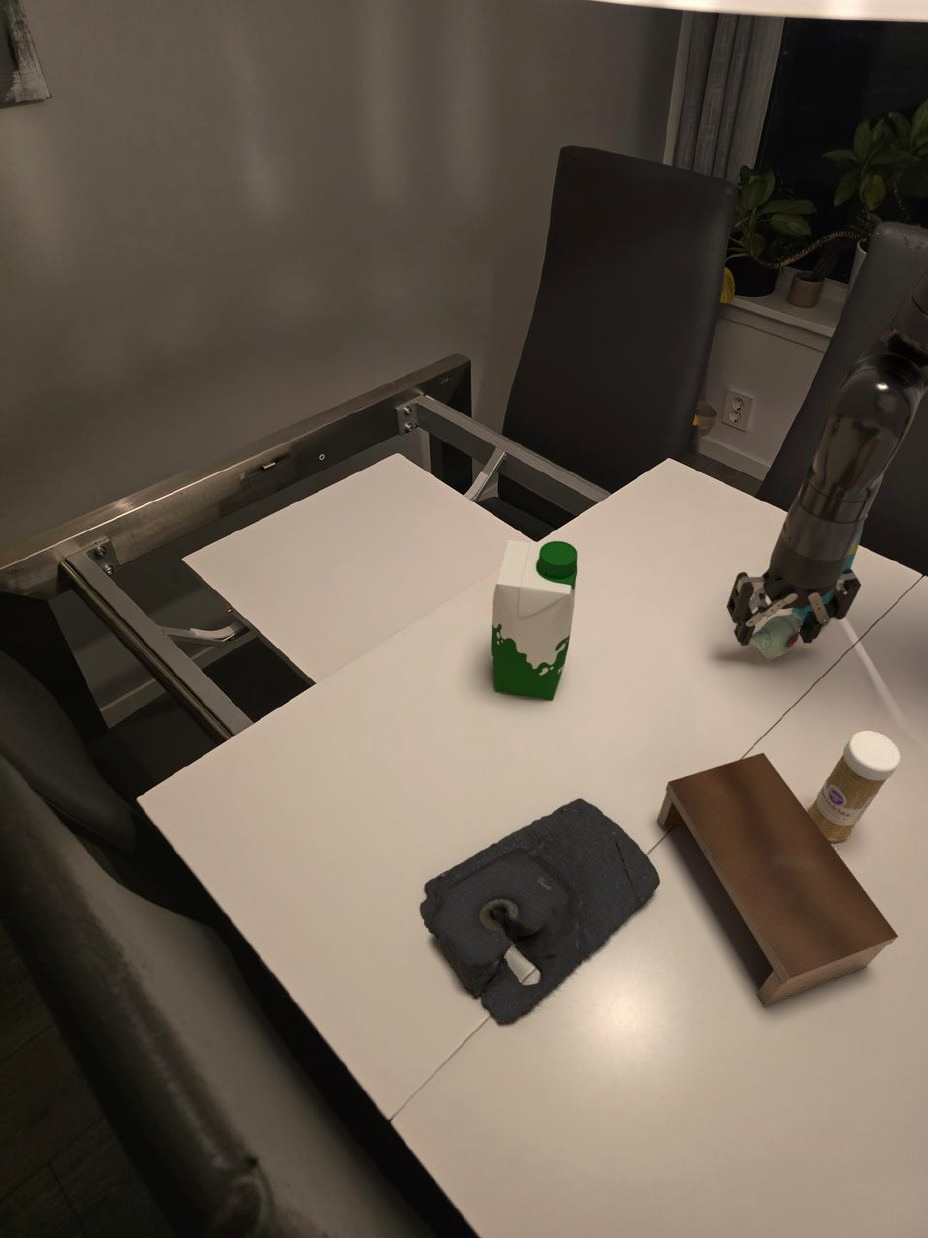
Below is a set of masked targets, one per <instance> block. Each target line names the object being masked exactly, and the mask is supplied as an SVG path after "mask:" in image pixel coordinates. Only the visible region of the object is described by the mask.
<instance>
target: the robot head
mask: <svg viewBox="0 0 928 1238" xmlns="http://www.w3.org/2000/svg"><path fill="white" fill-rule="evenodd" d="M801 626H802V618H801V617H799V616H798V615H797V614H796V613H793V614H792V613H790V614H785V615H783V614H782V615H776V616H773V617H770V619H768V620H767V621H765V622H764V624H763V625H762V626H761V627H760V628H759V629H758V630H757V631H755V632H753V635H752V637H751V640H750V641H751V642H753V643H754V645H755V647H757V648H758V650H759V652H760V655H761V656H763V657H764V658H765V659H775V658H778V657H781V656H782V655H784V654H787V652H789V651H790V650H791V649H793V647H795V644H796V643H797V642H798V641H799V637H800V634H799V630H800V628H801Z"/></svg>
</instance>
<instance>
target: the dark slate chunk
mask: <svg viewBox="0 0 928 1238" xmlns="http://www.w3.org/2000/svg"><path fill="white" fill-rule="evenodd" d="M660 884H661V880H660V875H659V873H658V871H657V869H656V866H654V864H653V863H652V862H651V860H650V857H649V856H648V855H647V854H646V853H645V852H644V851H643V850H642V849H641V847H640V846H639V844H638V843H637V842H636V841H635V840H634V839H633V838H631V836H630V835H629V834H628V833H627V832H626V831H625V830H624V829H623V828H622V827H621V826H620V825H619V824H618V823H617V822H616V821H614V820H613V819H611V818H610V817H609V816H607V815H605V814H604V812H603V811H602V810H601V809H599V808H598V806H596V805H594V804H592V803H590V802H588V801H586V799H584V798H580V797H579V798H577V799H574V800H572V801H570V802H569V803H566V804H563V805H561V806H559V807H558V808H556V809H555V810H553V812H552V813H550V814H548V815H544V816H541V817H540V818H539V819H535V820H533V821H532V822H531V823H530V824H527V825H525V826H523V827H521V828H519V829H518V830H515V831H513V832H511V833H510V834H508V835H506V836H504V837H502V838H501V839H500V840H498V841H497V842H494V843H493V842H492V843H491V844H490V845H489V846H488V847H486V848H484V849H482V850H479V851H478V852H477V853H475V854H473V855H472V856H470V857H468V858H466V859H465V860H464V861H462V862H460V863H458V864H455V865H454V866H452V867H451V868H450V869H447V870H445V871H443V872H442V873H440V874H438V875H437V876H436V877H434V878H430V879H429V880H428V881H427V882H426V883H424V890H425V891H426V898H425V899H424V900H423V901H422V902H420V903H419V905H420V907H419V909H420V913H421V916H422V917H423V922H424V925H425V926H426V927H427V928H428V932H429V933H431V934H433V935H434V936H435V938H436V939H438V940H439V944H440V947H441V949H442V951H443V954H444V956H445V958H446V960H447V961H448V963H449V964H450V965H451V967H452V969H453V970H454V971H455V973H457V976H459V978H460V980H461V981H462V983H463V984H464V986H465V987H466V989H469V990H472V991H473V995H474V996H475V997H478V996H480V995H481V996H480V997H481V1000H482V1003H483V1006H485V1007H489V1009H490V1012H491V1014H493V1015H494V1016H496V1019H497V1021H498V1022H500V1023H505V1022H513V1021H515V1020H517V1019H518V1018H519V1017H520V1016H521V1014H523V1013H525V1012H527V1011H528V1010H530V1009H531V1008H533V1007H534V1006H535V1005H536V1003H538V1001H539V1000H540V999H542V998H543V997H544V996H545V995H546V994H547V993H548V992H550V991H552V990H553V989H554V988H555V986H557V985H558V984H559V983H561V982H562V981H563V980H564V979H565V978H566V977H568V974H569V973H571V972H573V971H574V970H575V968H577V967H578V966H579V964H580V963H581V962H583V961H584V960H585V958H586V956H588V955H590V954H593V953H594V951H595V950H596V948H598V947H599V946H600V945H601V944H603V943H604V942H606V941H607V940H608V939H609V938H610V937H611V935H612V933H614V932H615V928H617V927H619V926H621V924H623V922H624V921H625V920H626V918H627V917H629V916H630V915H631V914H632V913H633V912H634V911H635V909H636V908H637V907H638V906H640V904H642V903H644V902H645V903H646V902H647V901H648V900H649V899H650V898H652V896H653V895H654V892H655V891H656V890H657V889H658V887H659V886H660ZM507 936H510V937H512V938H514V941H515V946H516V947H517V948H518V950H519V951H520V952H521V953H522V954H524V956H526V957H527V958H528V959H529V961H531V962H532V963H533V964H534V965H535V966H536V967H537V968H538V969H539V970H540V972H541V974H540V978H539V980H538V982H536V983H531V984H530V983H529V984H523V983H522V982H521V981H520V979H519V977H518V976H517V975H516V973H515V972H514V971H513V970H512V968H511V967H510V966H509V962H508V960H507V958H505V955H507V953H508V951H509V950H510V948H511V946H512V943H511V942H510V940H509V939H508V938H507Z"/></svg>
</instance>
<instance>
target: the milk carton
mask: <svg viewBox="0 0 928 1238" xmlns="http://www.w3.org/2000/svg"><path fill="white" fill-rule="evenodd" d="M577 576H578V548H577V547H575V546H574V545H573V544H571V543H569V542H566V541H563V540H562V541H561V540H552V541H548V542H546V543H542V542H539V541H529V542H528V541H521V540H514V539H507V541H506V545H505V549H504V552H503V556H502V560H501V564H500V568H499V571H498V575H497V579H496V583H495V587H494V591H493V595H492V614H491V641H490V656H491V667H492V677H493V686H494V692H496V693H497V692H498V693H504V694H509V695H515V696H516V695H517V696H520V697H521V696H523V697H529V698H534V699H542V700H547V701H554V699H555V695H556V692H557V689H558V685H559V682H560V680H561V676H562V674H563V670H564V667H565V664H566V659H567V655H568V651H569V647H570V638H571V632H572V624H573V619H574V618H573V617H574V610H575V600H576V587H577V585H576V584H577Z"/></svg>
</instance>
